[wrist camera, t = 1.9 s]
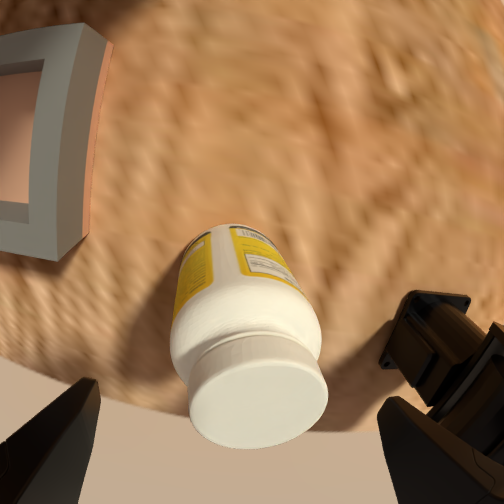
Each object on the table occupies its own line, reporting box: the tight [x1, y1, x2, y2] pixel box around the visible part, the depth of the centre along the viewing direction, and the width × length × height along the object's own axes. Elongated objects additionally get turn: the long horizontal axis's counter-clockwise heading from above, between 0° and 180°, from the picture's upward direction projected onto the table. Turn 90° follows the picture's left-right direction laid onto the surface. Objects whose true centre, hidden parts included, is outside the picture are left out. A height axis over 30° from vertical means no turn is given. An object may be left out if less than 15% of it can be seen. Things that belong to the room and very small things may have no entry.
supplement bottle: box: [170, 224, 328, 449], centre depth 12 cm, size 5×5×10 cm
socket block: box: [0, 23, 114, 262], centre depth 11 cm, size 10×10×4 cm
